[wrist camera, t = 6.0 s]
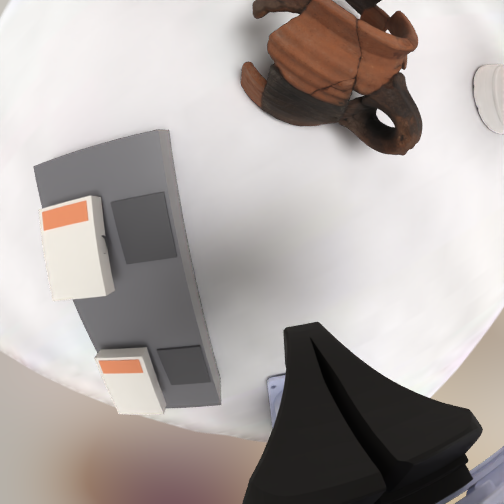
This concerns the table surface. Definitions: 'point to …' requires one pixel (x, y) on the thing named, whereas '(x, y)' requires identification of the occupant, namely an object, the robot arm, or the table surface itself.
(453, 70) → the table surface
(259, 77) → the pottery mug
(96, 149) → the power strip
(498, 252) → the table surface
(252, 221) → the table surface
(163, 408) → the block
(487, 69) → the water bottle
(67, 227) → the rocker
